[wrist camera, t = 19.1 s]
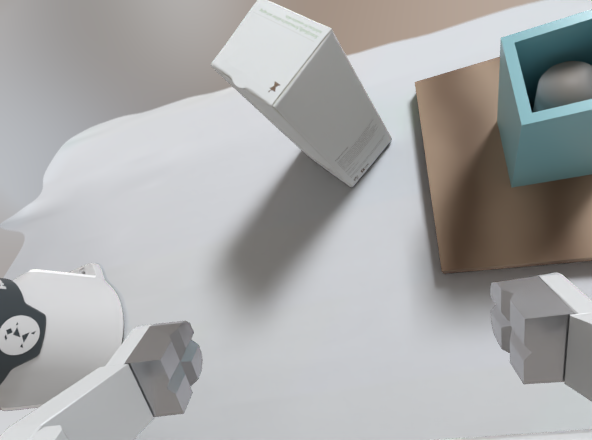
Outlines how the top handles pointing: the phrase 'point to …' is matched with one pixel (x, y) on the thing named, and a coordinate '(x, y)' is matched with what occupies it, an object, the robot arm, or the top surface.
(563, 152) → the teal pencil cup
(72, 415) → the robot arm
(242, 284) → the top surface
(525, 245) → the base
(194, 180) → the top surface
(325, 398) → the top surface
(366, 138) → the skincare box
